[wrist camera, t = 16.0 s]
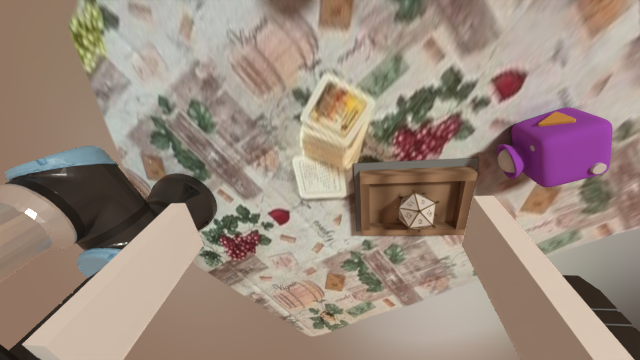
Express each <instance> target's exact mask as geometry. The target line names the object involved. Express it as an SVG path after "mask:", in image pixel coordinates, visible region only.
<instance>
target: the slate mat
mask: <svg viewBox="0 0 640 360" xmlns="http://www.w3.org/2000/svg"><path fill="white" fill-rule="evenodd" d="M478 162H479V158H463V159H441V160H419V161H397V162H375V163H354V186H355V208H356V230H357V231H362V228H361V198H360V170H384V169H409V168H433V167H457V166H472V168H473V169H474V170H475V171H477V167H478Z"/></svg>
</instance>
